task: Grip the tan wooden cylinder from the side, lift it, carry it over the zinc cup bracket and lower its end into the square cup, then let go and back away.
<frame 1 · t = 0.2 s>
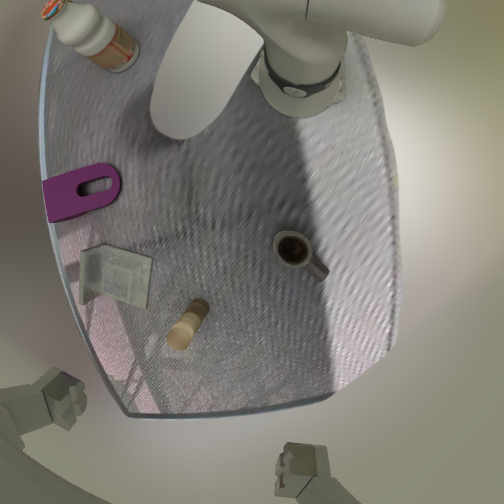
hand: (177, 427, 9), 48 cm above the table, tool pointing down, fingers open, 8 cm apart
fruit juice: (123, 57, 50), on the table
tan wooden cylinder: (200, 307, 60), on the table
pipe: (300, 250, 56), on the table
cup bracket: (127, 276, 60), on the table
mounting bracket: (92, 191, 58), on the table
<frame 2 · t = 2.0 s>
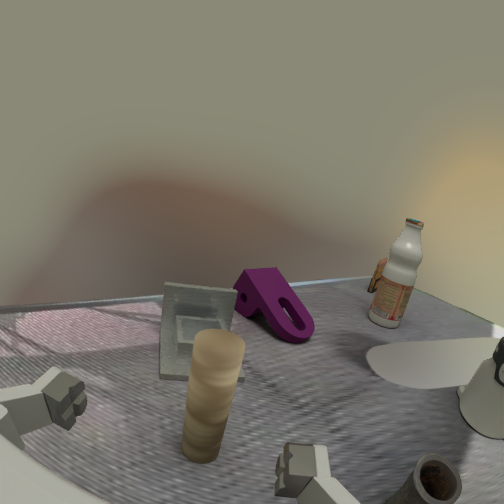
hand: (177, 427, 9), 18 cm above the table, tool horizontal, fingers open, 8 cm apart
fruit juice: (382, 321, 70), on the table
tan wooden cylinder: (200, 449, 25), on the table
ammunition clip: (373, 290, 97), on the table
cup bracket: (198, 356, 42), on the table
mounting bracket: (272, 323, 59), on the table
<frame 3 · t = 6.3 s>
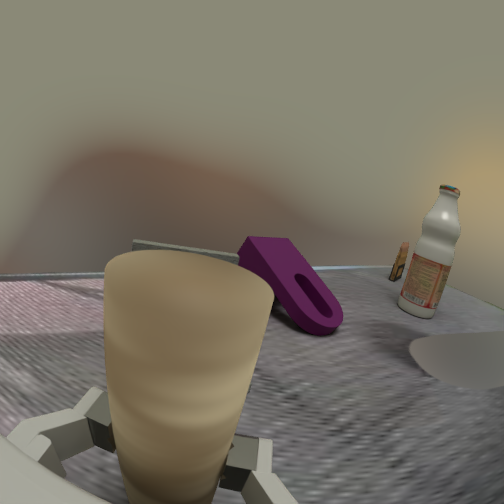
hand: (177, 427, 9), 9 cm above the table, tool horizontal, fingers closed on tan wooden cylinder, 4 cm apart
fruit juice: (414, 311, 56), on the table
ammunition clip: (394, 279, 83), on the table
cup bracket: (178, 351, 27), on the table
mounting bracket: (285, 311, 44), on the table
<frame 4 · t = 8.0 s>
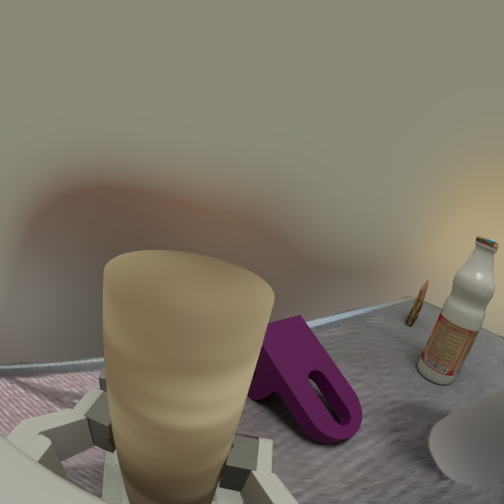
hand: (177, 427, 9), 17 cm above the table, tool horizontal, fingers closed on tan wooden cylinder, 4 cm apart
fruit juice: (434, 373, 45), on the table
ammunition clip: (411, 321, 72), on the table
cup bracket: (170, 494, 17), on the table
mounting bracket: (295, 405, 34), on the table
when the fingers open (11 cm above the table, at t = 10.2 s): tan wooden cylinder drops 1 cm, resting on cup bracket.
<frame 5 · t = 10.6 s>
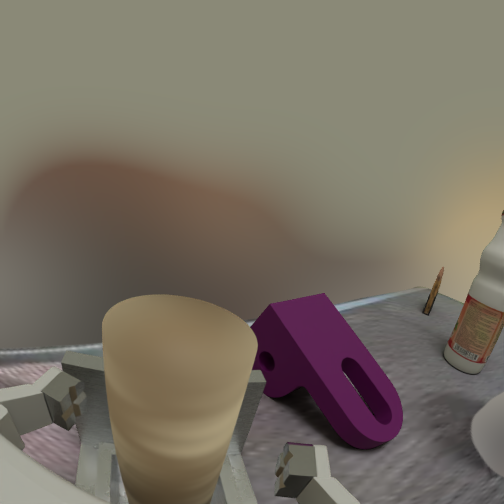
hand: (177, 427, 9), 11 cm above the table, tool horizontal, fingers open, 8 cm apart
fruit juice: (461, 363, 39), on the table
ammunition clip: (427, 310, 66), on the table
mounting bracket: (320, 403, 27), on the table
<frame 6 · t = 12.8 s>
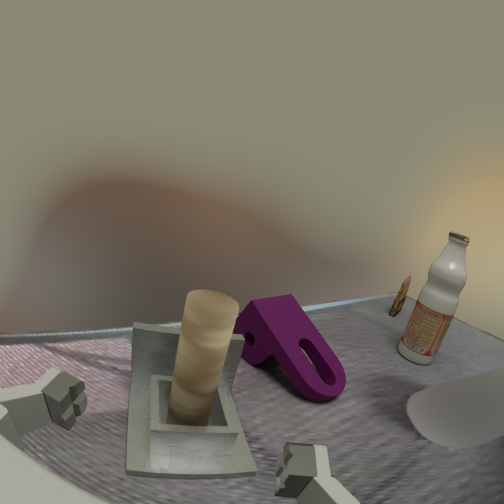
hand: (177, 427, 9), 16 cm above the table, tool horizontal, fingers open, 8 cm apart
fruit juice: (413, 355, 54), on the table
tan wooden cylinder: (185, 427, 25), point 1 cm above the table, touching cup bracket
ammunition clip: (394, 313, 81), on the table
cup bracket: (185, 433, 25), on the table
mounting bracket: (287, 371, 42), on the table
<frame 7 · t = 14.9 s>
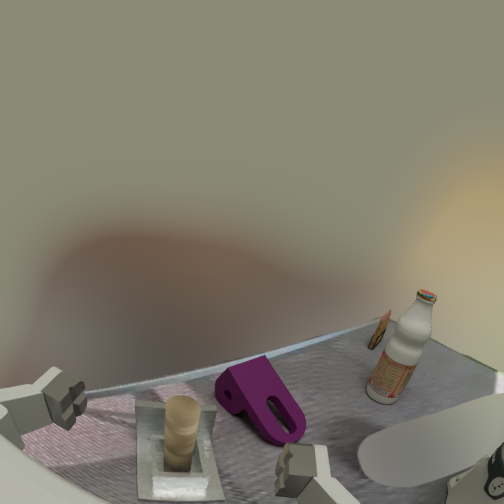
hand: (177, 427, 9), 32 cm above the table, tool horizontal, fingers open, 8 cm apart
fruit juice: (381, 394, 60), on the table
tan wooden cylinder: (176, 468, 32), point 1 cm above the table, touching cup bracket
ammunition clip: (374, 344, 87), on the table
cup bracket: (177, 471, 32), on the table
mounting bracket: (260, 417, 49), on the table
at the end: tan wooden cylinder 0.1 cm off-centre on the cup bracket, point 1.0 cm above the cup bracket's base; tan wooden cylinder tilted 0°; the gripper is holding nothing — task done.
